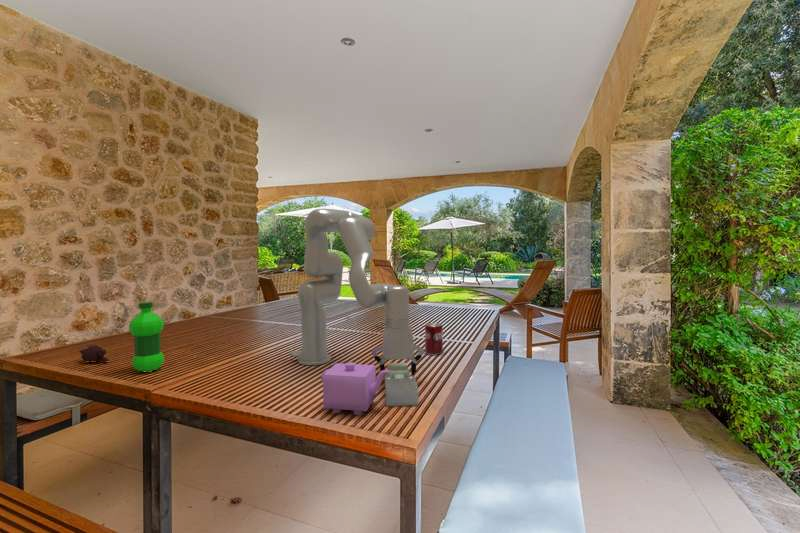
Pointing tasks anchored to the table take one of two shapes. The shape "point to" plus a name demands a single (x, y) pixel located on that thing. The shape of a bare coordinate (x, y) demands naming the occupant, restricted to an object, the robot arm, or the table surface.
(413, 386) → the steel hinge leaf
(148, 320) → the plastic bottle
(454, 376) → the table surface
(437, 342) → the soda can
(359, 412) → the teapot
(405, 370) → the sage hinge leaf
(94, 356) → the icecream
